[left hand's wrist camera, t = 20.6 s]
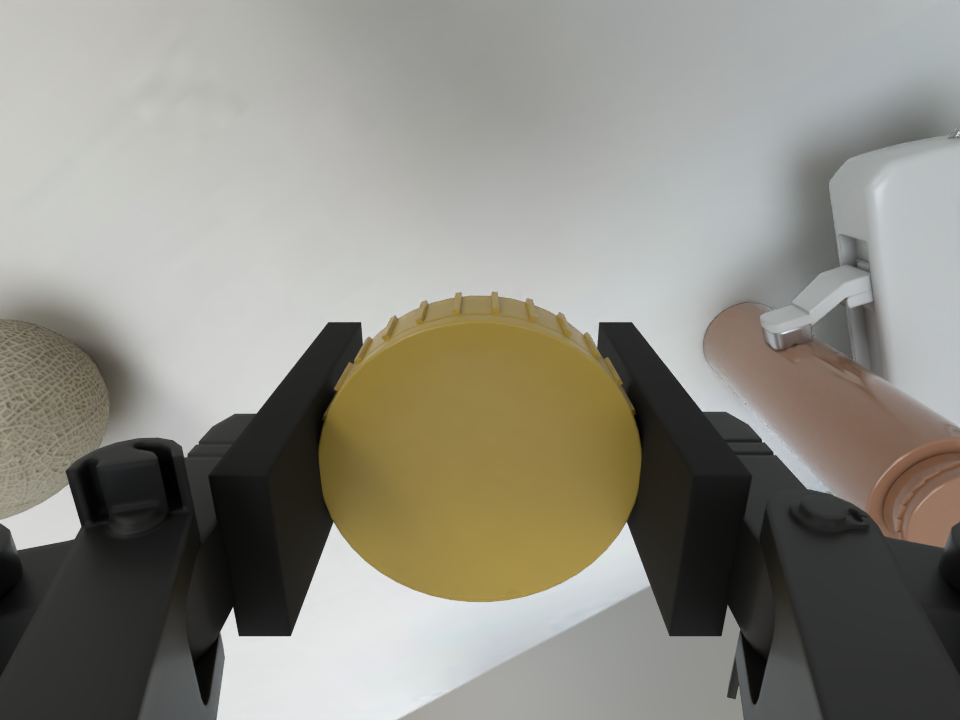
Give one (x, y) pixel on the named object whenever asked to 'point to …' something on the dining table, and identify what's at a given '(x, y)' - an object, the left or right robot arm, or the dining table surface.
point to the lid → (480, 450)
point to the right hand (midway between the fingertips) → (777, 388)
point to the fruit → (44, 413)
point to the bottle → (846, 426)
